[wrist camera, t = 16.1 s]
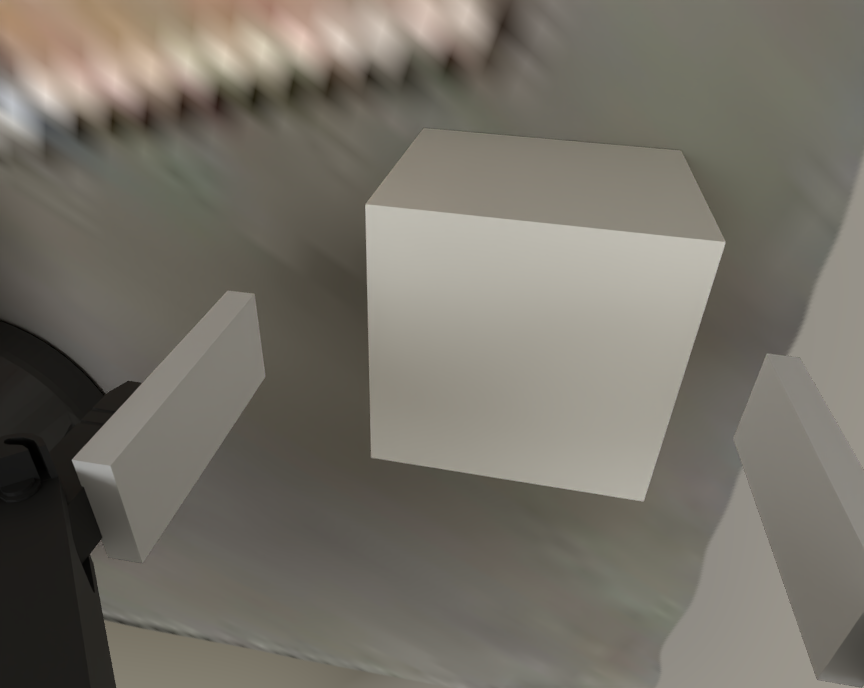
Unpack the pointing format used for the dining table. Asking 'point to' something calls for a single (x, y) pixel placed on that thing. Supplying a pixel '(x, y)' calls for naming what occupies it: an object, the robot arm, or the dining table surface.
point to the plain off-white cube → (534, 306)
